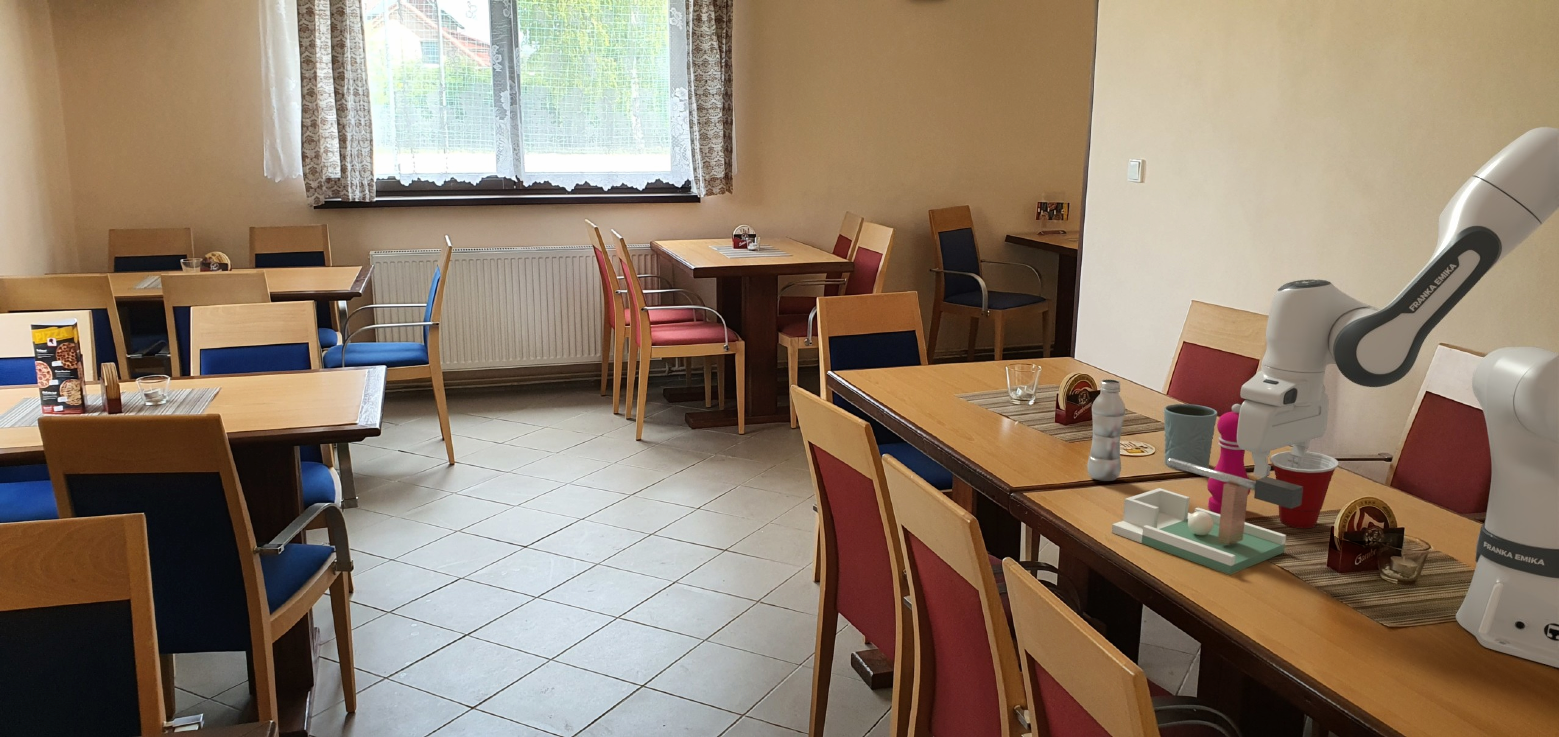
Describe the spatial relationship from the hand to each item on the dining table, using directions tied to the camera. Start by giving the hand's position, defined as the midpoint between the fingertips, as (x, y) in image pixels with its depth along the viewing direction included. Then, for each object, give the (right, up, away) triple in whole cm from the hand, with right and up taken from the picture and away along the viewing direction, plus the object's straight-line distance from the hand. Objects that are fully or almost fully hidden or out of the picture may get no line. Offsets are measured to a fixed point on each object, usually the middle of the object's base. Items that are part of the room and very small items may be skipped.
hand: (1277, 471), depth 166 cm
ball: (-7, -10, +12) cm, 17 cm away
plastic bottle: (-13, -6, +46) cm, 48 cm away
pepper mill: (+4, -10, +29) cm, 31 cm away
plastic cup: (+14, -12, +23) cm, 29 cm away
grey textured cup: (+7, -4, +55) cm, 56 cm away
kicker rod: (-5, -12, +9) cm, 16 cm away
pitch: (-7, -13, +14) cm, 20 cm away
